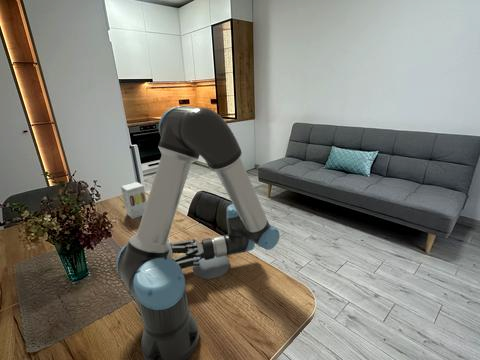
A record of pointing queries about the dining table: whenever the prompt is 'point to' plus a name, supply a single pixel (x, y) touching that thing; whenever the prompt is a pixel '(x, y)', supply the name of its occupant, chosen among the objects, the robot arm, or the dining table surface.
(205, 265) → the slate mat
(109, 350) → the dining table surface
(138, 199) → the supplement box
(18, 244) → the dining table surface
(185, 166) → the robot arm
